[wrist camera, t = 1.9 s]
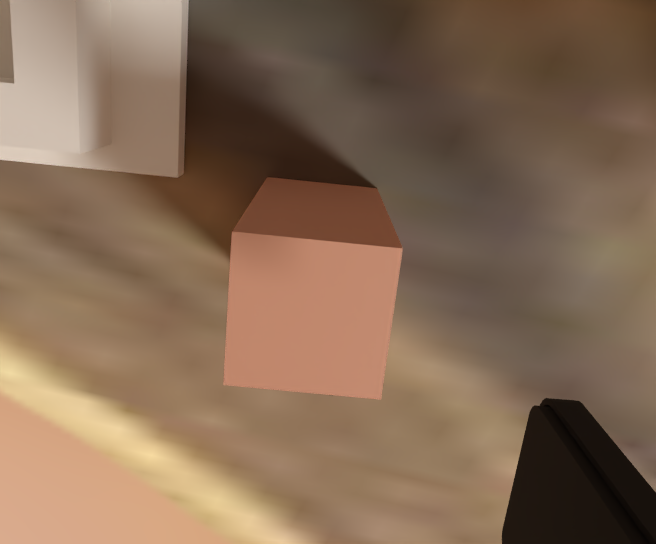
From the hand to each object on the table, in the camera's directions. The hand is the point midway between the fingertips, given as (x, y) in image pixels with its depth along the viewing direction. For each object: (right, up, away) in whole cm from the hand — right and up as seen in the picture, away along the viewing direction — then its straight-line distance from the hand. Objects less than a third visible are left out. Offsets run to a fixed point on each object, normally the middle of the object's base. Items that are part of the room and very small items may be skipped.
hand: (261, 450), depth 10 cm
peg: (+1, +5, +14) cm, 15 cm away
